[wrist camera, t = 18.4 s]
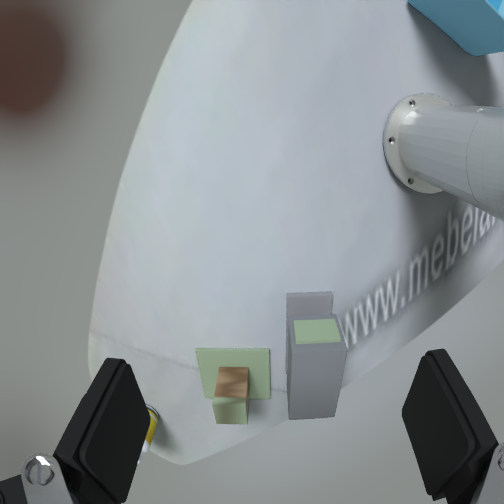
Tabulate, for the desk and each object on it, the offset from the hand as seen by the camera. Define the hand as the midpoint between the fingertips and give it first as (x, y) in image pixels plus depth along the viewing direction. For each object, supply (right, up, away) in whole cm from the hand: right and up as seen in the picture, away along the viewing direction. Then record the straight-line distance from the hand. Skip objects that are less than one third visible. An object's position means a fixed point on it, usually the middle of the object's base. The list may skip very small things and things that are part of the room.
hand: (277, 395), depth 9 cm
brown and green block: (-3, -15, +39) cm, 42 cm away
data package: (+24, +35, +18) cm, 46 cm away
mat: (-3, -15, +39) cm, 42 cm away
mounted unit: (+7, -7, +36) cm, 37 cm away
